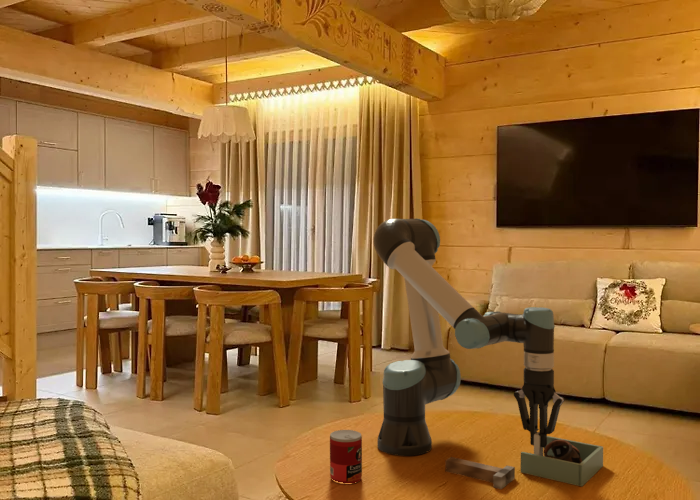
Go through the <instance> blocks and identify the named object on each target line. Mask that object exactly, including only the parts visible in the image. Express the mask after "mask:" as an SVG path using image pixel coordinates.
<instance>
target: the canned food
mask: <svg viewBox="0 0 700 500" xmlns="http://www.w3.org/2000/svg"><path fill="white" fill-rule="evenodd" d="M362 439H363V435H362V433H361V432H359V431H358V430H357V431H356V430H353V429H340V430H334V431H332V432H330V434H329V476H330V478H332V479H333V480H335V481H338V482H343V483H355V482H357V483H359V482H360V481H361V480H362V476H363V440H362ZM332 479H331V480H332ZM358 481H359V482H358ZM355 484H356V483H355Z"/></svg>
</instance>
